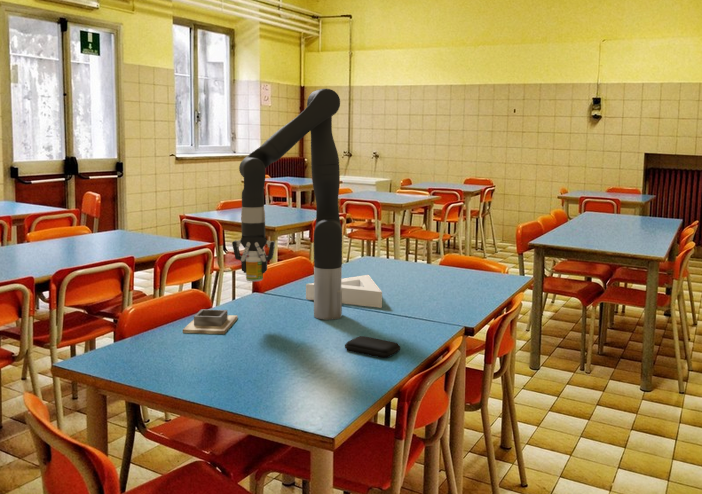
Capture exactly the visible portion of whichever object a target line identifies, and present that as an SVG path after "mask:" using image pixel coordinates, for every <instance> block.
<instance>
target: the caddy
mask: <svg viewBox="0 0 702 494" xmlns="http://www.w3.org/2000/svg"><path fill="white" fill-rule="evenodd" d="M237 320H238V315H237V314H235V315H230V314H228V309H204V308H203V309H202V308H201V309H200V310H199V311H198V312H196V313H195V314H194V316H193V320H191V321H190V322H189V323H188V324H187V325H186V326H185V327H183V328H182V333H183V334H207V335H209V334H210V335H211V334H212V335H214V334H216V335H225V334H226V333H227V331H229V329H230V328H231V327H232V326H233V324H234V323H235V322H236V321H237Z"/></svg>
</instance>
